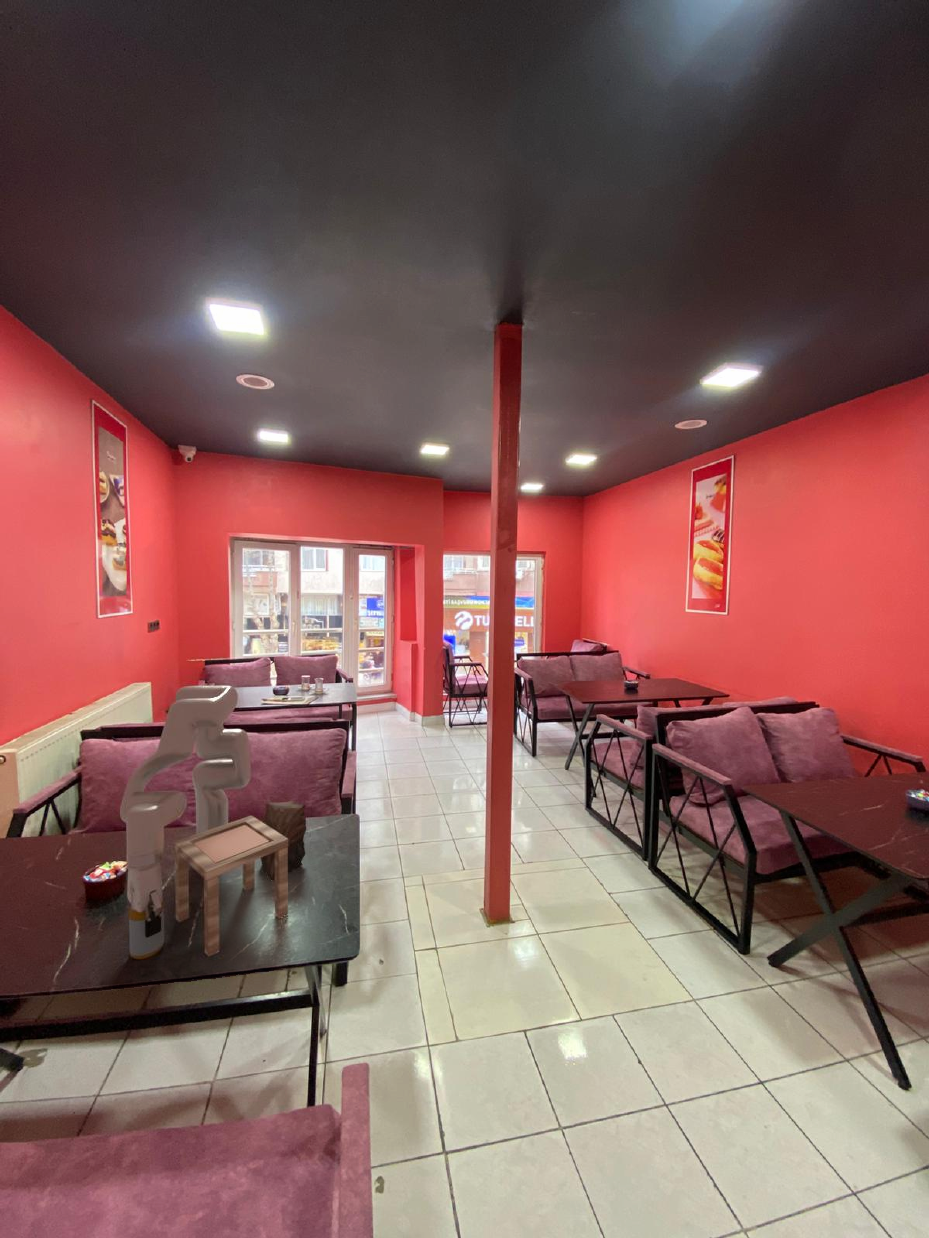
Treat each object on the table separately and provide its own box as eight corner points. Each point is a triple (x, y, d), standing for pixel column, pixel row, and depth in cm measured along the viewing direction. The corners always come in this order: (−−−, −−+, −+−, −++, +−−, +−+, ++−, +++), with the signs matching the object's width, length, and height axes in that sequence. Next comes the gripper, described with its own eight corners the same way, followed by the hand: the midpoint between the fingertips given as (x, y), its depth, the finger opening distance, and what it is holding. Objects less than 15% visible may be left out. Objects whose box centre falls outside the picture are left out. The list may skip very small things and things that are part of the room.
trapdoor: (192, 846, 128) (192, 842, 128) (244, 827, 138) (244, 824, 138) (215, 866, 118) (215, 862, 118) (269, 844, 129) (269, 841, 129)
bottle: (171, 943, 118) (170, 885, 118) (143, 964, 112) (142, 901, 111) (150, 937, 121) (149, 879, 120) (122, 956, 114) (121, 895, 114)
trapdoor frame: (174, 918, 128) (173, 842, 127) (251, 883, 144) (251, 815, 143) (207, 957, 114) (206, 872, 113) (288, 914, 130) (288, 838, 129)
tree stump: (257, 863, 155) (257, 803, 154) (296, 850, 163) (296, 793, 162) (269, 881, 145) (269, 817, 144) (310, 867, 153) (310, 806, 152)
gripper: (116, 849, 118) (117, 917, 118) (139, 875, 107) (140, 950, 107) (151, 838, 124) (151, 903, 124) (176, 862, 113) (176, 933, 113)
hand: (146, 925), depth 116 cm, fingers open, 9 cm apart
